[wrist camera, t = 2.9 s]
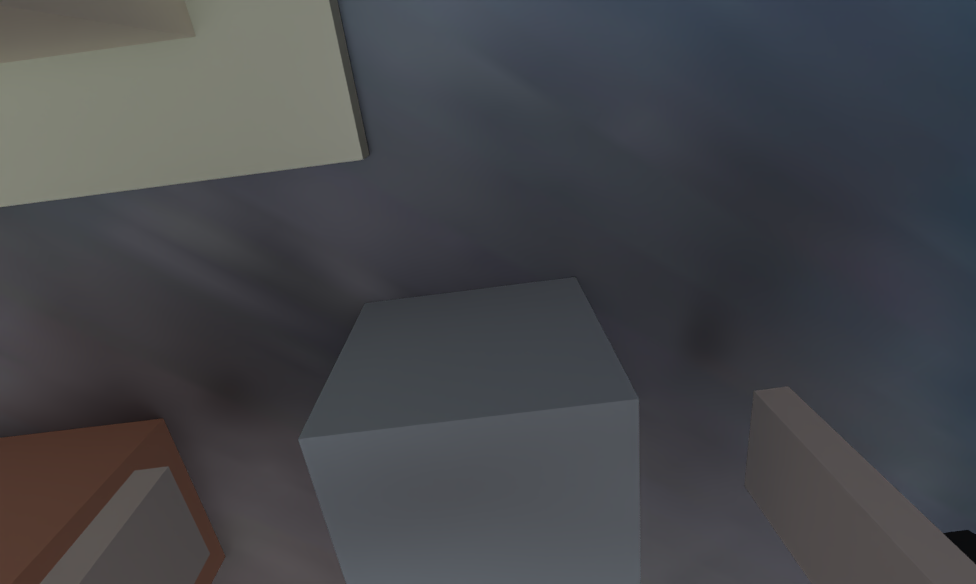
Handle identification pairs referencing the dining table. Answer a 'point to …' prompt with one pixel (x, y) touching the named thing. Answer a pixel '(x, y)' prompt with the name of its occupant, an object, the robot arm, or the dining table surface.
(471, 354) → the block
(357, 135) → the plate
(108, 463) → the block
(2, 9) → the block
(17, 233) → the dining table surface
